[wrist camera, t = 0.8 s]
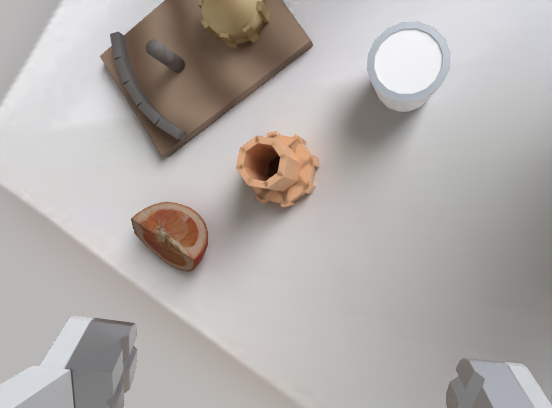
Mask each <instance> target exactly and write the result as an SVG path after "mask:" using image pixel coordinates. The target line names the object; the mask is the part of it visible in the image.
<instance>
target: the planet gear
mask: <svg viewBox="0 0 552 408" xmlns="http://www.w3.org/2000/svg"><path fill="white" fill-rule="evenodd" d="M305 144H306V141H305V140H304V139H302V138H301V137H299V136H297V135H296V134H295V135H294V137H288V136H282V135H280V134H279V133H278V132H277V131H274V132H270V133H267V137H261V136H255V137H254V138H252V139H251V140H250V141H248V142H247V143H246V144H244V145H243V146H242V147H240V150H239V155H238V161H237V166H236V169H237V170H238V172H239V173H240V175H241V176H242V178H243V179H244V182H246V184H247V185H250V186H251V187H252V189H253V190H254V192H255V193H256V197H255V199H257V200H258V201H260V202H261V203H265V204H268V202H269V201H271V202H276V203H281V207H289V206H294V205H295V204H294V201H296V200H297V199H299V198H300V197H302V196H303V195H304V194H306V193H307V194H311V193H312V191H313V190H314V188H315V187H316V186H314V185H313V180H314V175H315V170H316V168H318V167H319V163H318V158H317V157H316V156H312V155H311V154H310V152H309V151H308V149H307V148H306V146H305ZM278 156H280V162H279V168H278V173H276V174H275V175H273V176H272V177H271V178H270V177H269V176H268V169H269V164H270V162H271V161H272V160H273V159H275V158H276V157H278Z"/></svg>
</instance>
